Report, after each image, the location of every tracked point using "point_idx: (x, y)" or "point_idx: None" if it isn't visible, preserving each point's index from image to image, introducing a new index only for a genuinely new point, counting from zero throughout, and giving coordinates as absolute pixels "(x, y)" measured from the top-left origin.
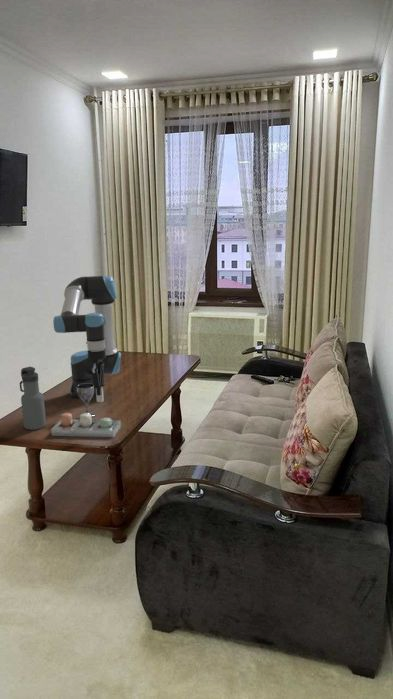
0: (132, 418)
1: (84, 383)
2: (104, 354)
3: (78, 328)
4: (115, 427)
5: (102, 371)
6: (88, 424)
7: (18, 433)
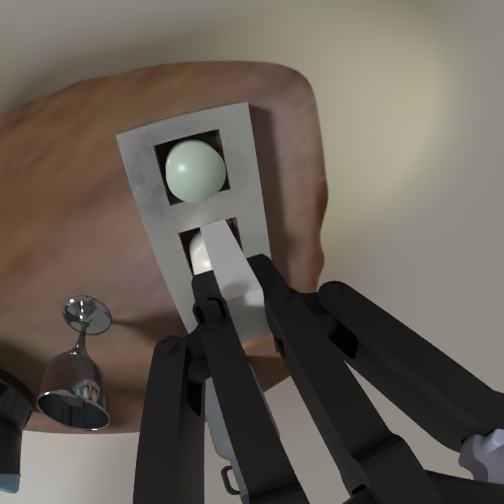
0: (29, 140)
1: (57, 422)
2: None
3: None
4: (206, 110)
5: (179, 486)
6: None
7: (273, 369)
